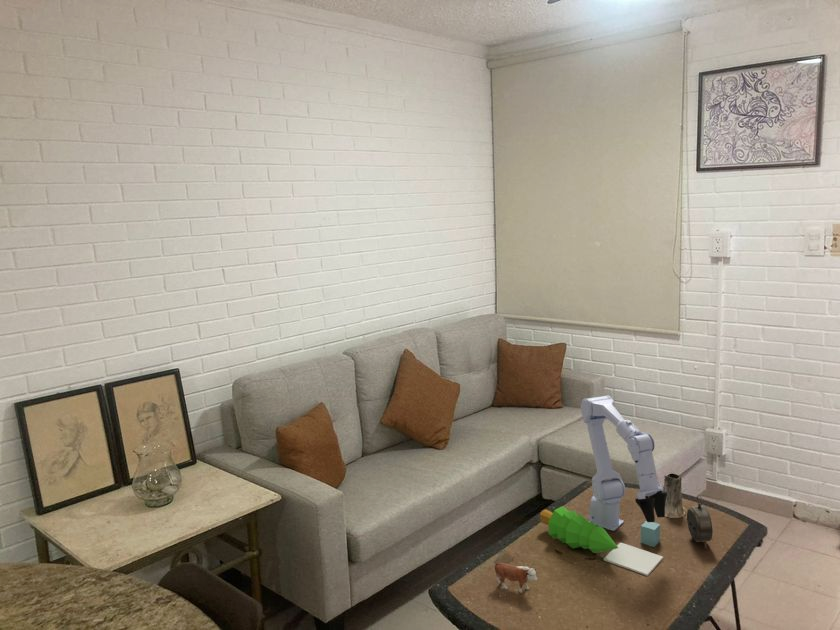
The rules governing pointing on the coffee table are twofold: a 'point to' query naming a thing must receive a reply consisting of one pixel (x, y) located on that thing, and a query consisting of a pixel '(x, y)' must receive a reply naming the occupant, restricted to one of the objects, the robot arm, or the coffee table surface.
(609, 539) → the decorative tree
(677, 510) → the tree stump
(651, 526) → the teal block
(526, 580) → the bull figurine
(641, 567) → the off-white tile
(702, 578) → the coffee table surface
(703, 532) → the alarm clock
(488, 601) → the coffee table surface
